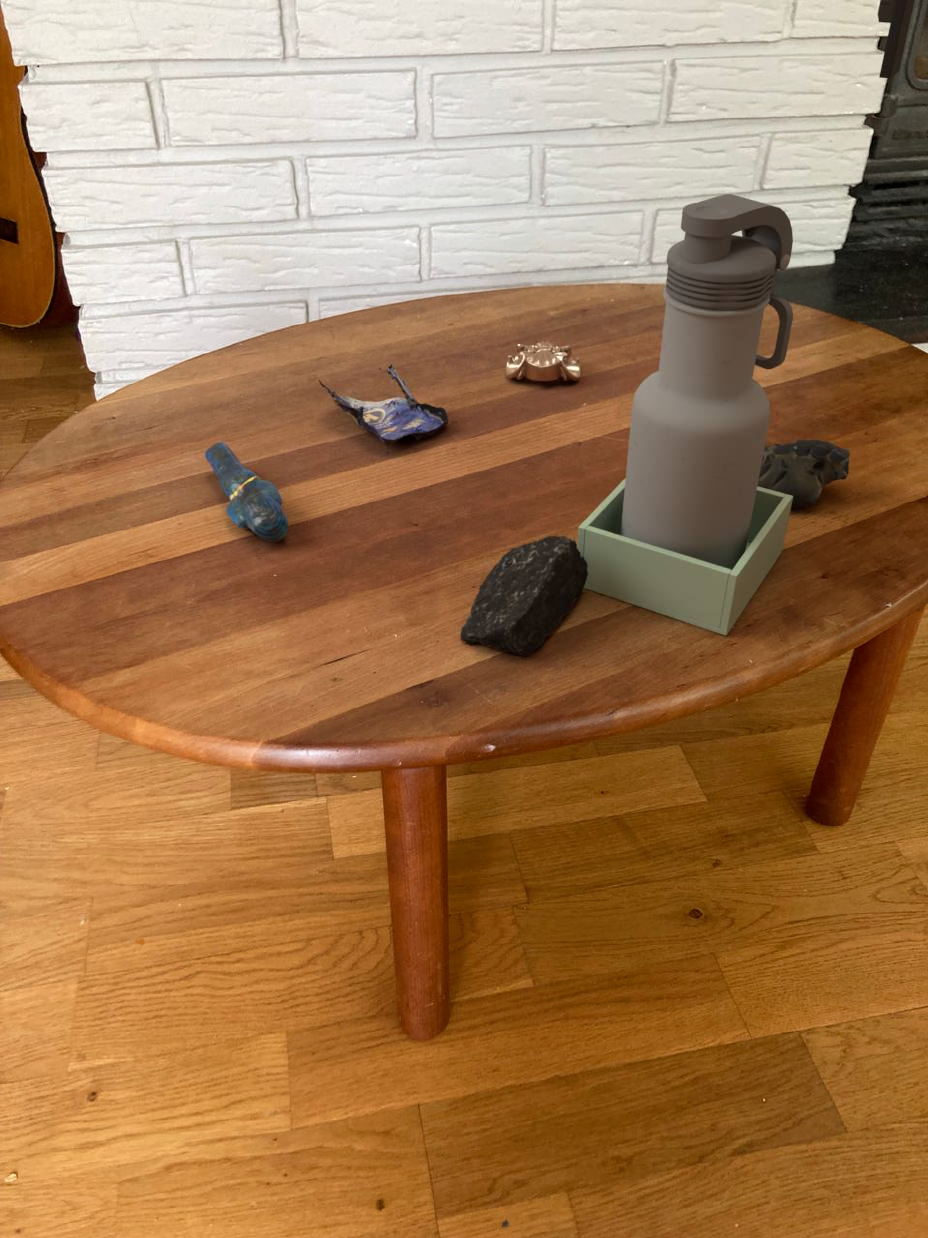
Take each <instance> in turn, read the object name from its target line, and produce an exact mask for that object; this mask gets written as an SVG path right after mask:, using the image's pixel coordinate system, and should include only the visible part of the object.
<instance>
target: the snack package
mask: <svg viewBox="0 0 928 1238" xmlns="http://www.w3.org/2000/svg"><path fill="white" fill-rule="evenodd" d="M381 370H382V368H381V367H380V368H378V371H381ZM386 372H387V374H388V376H391V379H392V380H395V382H396V383H397V385H398V387H399V388H400V390H401V392H402V393H403V395H404V397H399V396H397V397H392V398H386V399H385V400H380V401H369V400H367V401H364V400H359V399H356V398H353V397H351V396H349V395H343V394H341V395H340V396H339V395H337V394H336V392H335V391H331V389H330V388H329V387H328V386H327V385H328V384H325V385H324V383H323V382H322V381H321V380H320V379H319V380H318V382H319V385H320V386H321V387H322V388H324V390H326V391H327V393H328V394H329V396H330V397H331V398H332V401H333V403H334V404H335V405H336V406H337V407H339V408H340V409H341V411H342V412H343V413H345V414H346V415H347V416H348V417H349V418H350V419H351V420H352V421H354V422H355V424H356V425H357V426H359V428H361V429H363V430H365V431H367V432H369V433H372V434H373V435H375V436H376V437H377V438H378V439H379V440H380V441H381V442H382V443H383V444H384V446H385V447H387V448H389V447H390V446H392V445H393V444H394V443H396V442H398V441H399V440H400V439H401V440H402V439H403V438H404V437H408V436H412V437H415V440H416V442H418V441H420V440H421V439H424V438H425V437H426V438H427V437H428V436H431V437H432V436H433V435H434V434H436V433H437V432H438V431H439V430H441V429H442V428H443V427H444V426H447V425H448V424H449V416H448V413H447V411H446V409H445V408H444V407H441V406H439V407H436V406H433V405H430V404H429V403H419V402H418V401H417V400H416V398H415V397H414V396H413V395H412V394H411V392H410V391H409V389H408V383H407V382H406V380H405V379H401V378H400V375H399V372H398V370H397V369H396V368H395V367H394V366H393V364H392V363H391V364H390V365H389V366H388V367H387V368H386ZM363 375H366V373H363ZM352 393H353V394H354V395H357V392H356V391H355V390H352ZM411 444H412V442H410V445H411ZM406 446H409V444H408V443H407V444H406ZM389 453H390V451H387V452H386V454H389Z"/></svg>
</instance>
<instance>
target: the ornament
mask: <svg viewBox="0 0 928 1238" xmlns="http://www.w3.org/2000/svg"><path fill="white" fill-rule="evenodd" d="M516 347H517V349H516V353H515V354H514V356H512V355H511V354H509V355H507V358H506V359H507V360H506V366H505V367H506V368H505V376H506V377H507V379H509V380H511V379H513V378H515V379H516V380H518V381H519V380H522V379H524V377H525V378H526V379H529V380H531V381H537V382H552V381H556V380H558V379H561V380H562V381H563V382H569V381H570V380H572V381H574V382H576V381H578V380H579V379H580V378H581V358H580V357H579V356H577V357H575V358H574V356H573V352H572V345H571V344H570V345H569V344H568V345H563V346H559V345H557V346H556V345H554V343H553V342H550V341H549V340H547V341H543V340H542V341H540V342H537V343H536V344H535V345H527V344H522V343H517V344H516Z"/></svg>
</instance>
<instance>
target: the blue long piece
mask: <svg viewBox="0 0 928 1238" xmlns="http://www.w3.org/2000/svg"><path fill="white" fill-rule="evenodd" d="M204 457H205V459H206V460H207V462H208V464H209V466H210V467H211V469H212V471H213V472H214V474H215V475H216V477H217V480H218V482H219V484H220V486H221V489H222V491H223V492H224V494H225V496H226V498H227V499H228V500H229V504H228V505H227V507H226V509H225V512H226V515H227V517H228V518H229V519H230V520H231V522H232V523H234V524H235V526H237V527H239V528H241V529H242V530H248V529H249V530H250V531H252V532H253V534H255V535H256V536H257V537H259V538H260V539H261V540H263V541H266V542H268V543H277V542H279V541H281V540H283V539H284V538H285V537H286V536H287V533H288V531H289V521H288V517H287V515H286V513H285V511H284V509H283V507H282V505H283V498H282V496H281V493H280V492H279V490H278V489H277V487H276V486H275V484H274V483H273V482H272V481H269V480H266V479H265V480H264V479H261V478H260V477H259V475H258V474H257V473H256V472H254V471H253V470H251V469H249V468H248V467H246V465H244V464H242V462H241V461H240V459H239V458H238V457H237V456H236V454H235V453H234V451H233V450H232V449H231V448H230V447H229V445H227V444H226V443H225V442H223V441H221V442H216V443H214V444H212V445H211V446H210V447H208V448H207V449H206V451H205V453H204Z"/></svg>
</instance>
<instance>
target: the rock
mask: <svg viewBox="0 0 928 1238" xmlns="http://www.w3.org/2000/svg"><path fill="white" fill-rule="evenodd" d="M587 567H588V565H587V562H586V561H585V559H584V557H583V556H582V557H581V554H580V552H579V551H578V549H577V542H576V541H575V539H573V538H571V537H569V536H565V535H562V536H558V535H548V536H546V537H543V538H541V539H538V540H535V541H532V542H531V541H530V542H528V543H525V544H522V545H519V546H516V547H513V548H511V549H510V550H509V551H508V552H507V553H505V554H504V555H502V557H501V558H500V560H499V561H498V562H496V564H495V565H494V566H493V567H492V569H491V570H490V572H489V573H488V574H487V576H486V577H485V579H484V580H483V581H482V584H481V585H480V586H479V590H478V593H477V594H476V596H475V599H474V601H473V603H472V606H471V608H470V613H469V616H468V617H467V618H466V621H465V623H464V624H463V626H462V627H461V631H460V640H461V641H463V642H464V643H465V644H467V645H474V644H476V643H480V644H482V645H483V646H484V647H489V648H494V649H496V650H498V651H501V652H507V653H510V654H514V655H516V656H523V657H526V656H528V655H530V654H531V653H533V652H534V651H535V650H536V649H538V648H539V647H540V646H542V645H543V644H544V643H545V639H546V637H547V636H548V635H549V634H551V633H552V632H553V631H554V629H555V628H556V627H557V625H559V623H560V622H561V620H563V617H564V615H567V614H568V613H570V612H571V610H572V608H573V605H574V603H575V601H576V600H577V599H579V598H580V596H581V595H582V594H583V591H584V588H583V587H584V586H585V582H586V579H587V576H588V571H587Z"/></svg>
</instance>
